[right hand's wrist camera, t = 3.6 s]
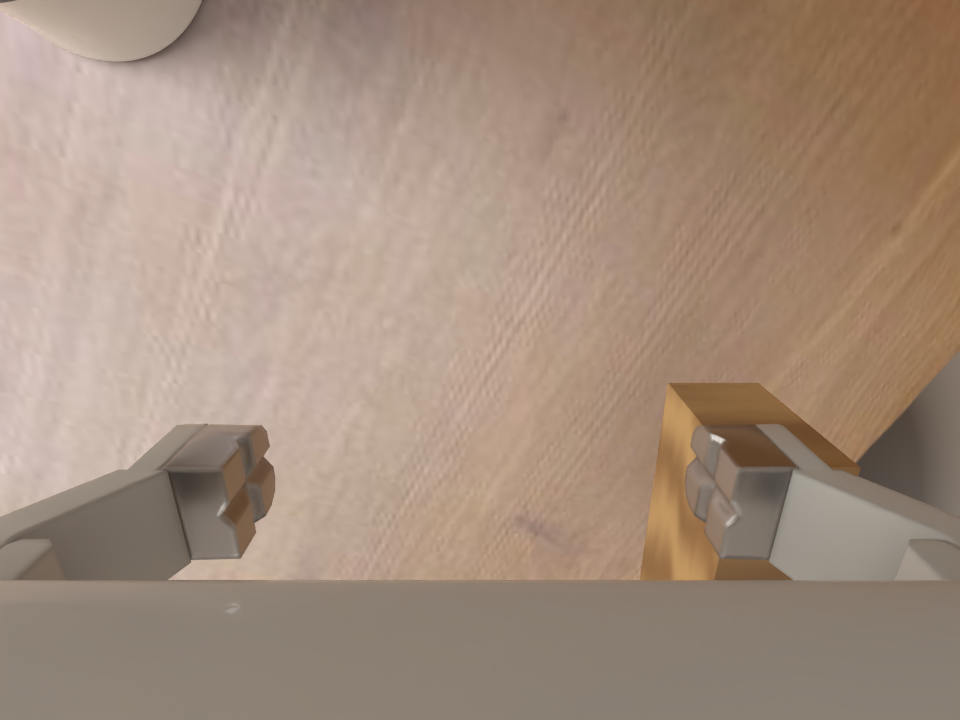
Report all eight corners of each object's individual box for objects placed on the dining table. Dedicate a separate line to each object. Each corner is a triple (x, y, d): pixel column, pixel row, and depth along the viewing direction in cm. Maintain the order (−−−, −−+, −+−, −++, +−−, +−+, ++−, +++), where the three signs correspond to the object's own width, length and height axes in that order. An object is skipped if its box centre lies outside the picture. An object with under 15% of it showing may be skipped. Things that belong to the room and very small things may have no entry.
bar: (667, 382, 33) (737, 467, 24) (758, 382, 33) (861, 467, 24) (626, 669, 42) (665, 807, 33) (697, 669, 42) (755, 807, 33)
